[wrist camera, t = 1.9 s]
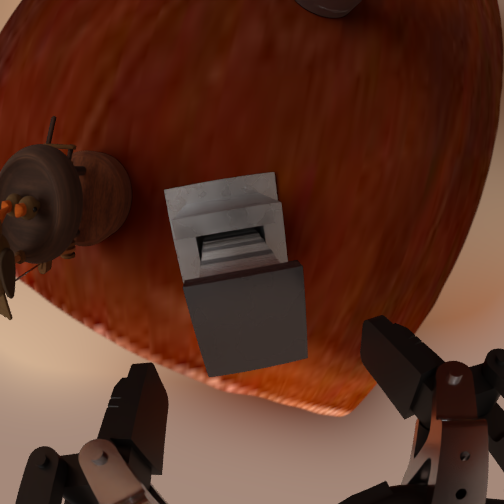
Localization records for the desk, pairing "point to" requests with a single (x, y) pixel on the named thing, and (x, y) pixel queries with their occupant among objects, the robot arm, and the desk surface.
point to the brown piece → (56, 206)
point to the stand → (224, 215)
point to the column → (246, 305)
